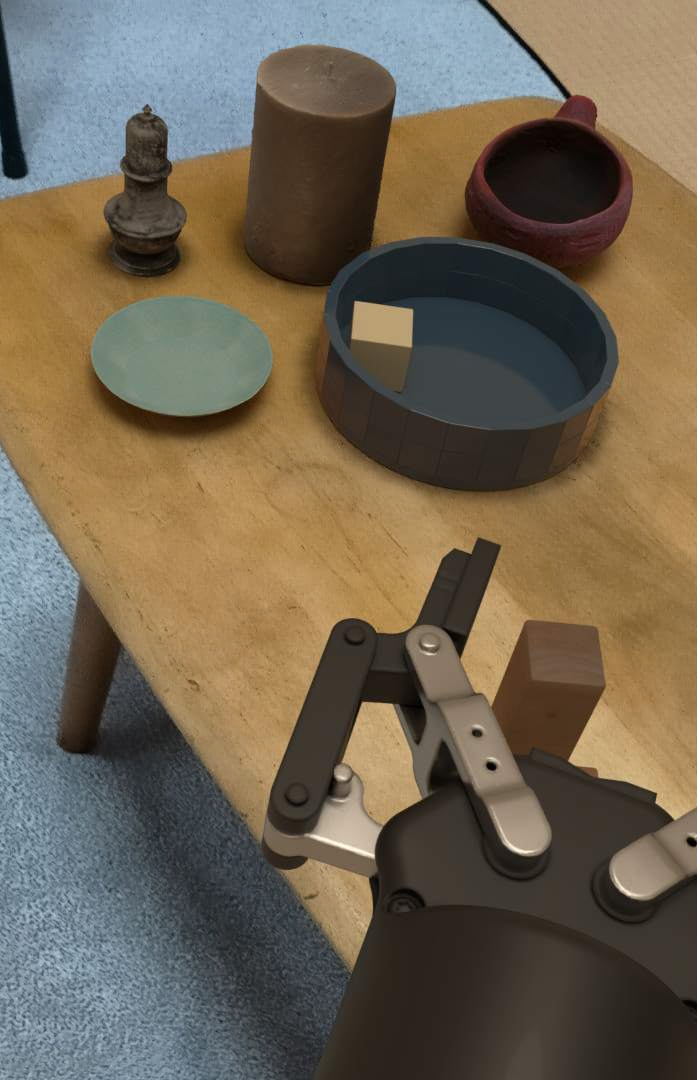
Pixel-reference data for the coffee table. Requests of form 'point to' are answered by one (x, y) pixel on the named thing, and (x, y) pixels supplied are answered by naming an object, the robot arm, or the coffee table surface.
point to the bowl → (551, 188)
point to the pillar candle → (316, 160)
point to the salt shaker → (145, 203)
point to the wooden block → (550, 688)
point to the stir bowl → (470, 364)
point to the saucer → (181, 356)
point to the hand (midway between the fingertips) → (628, 612)
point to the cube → (382, 341)
